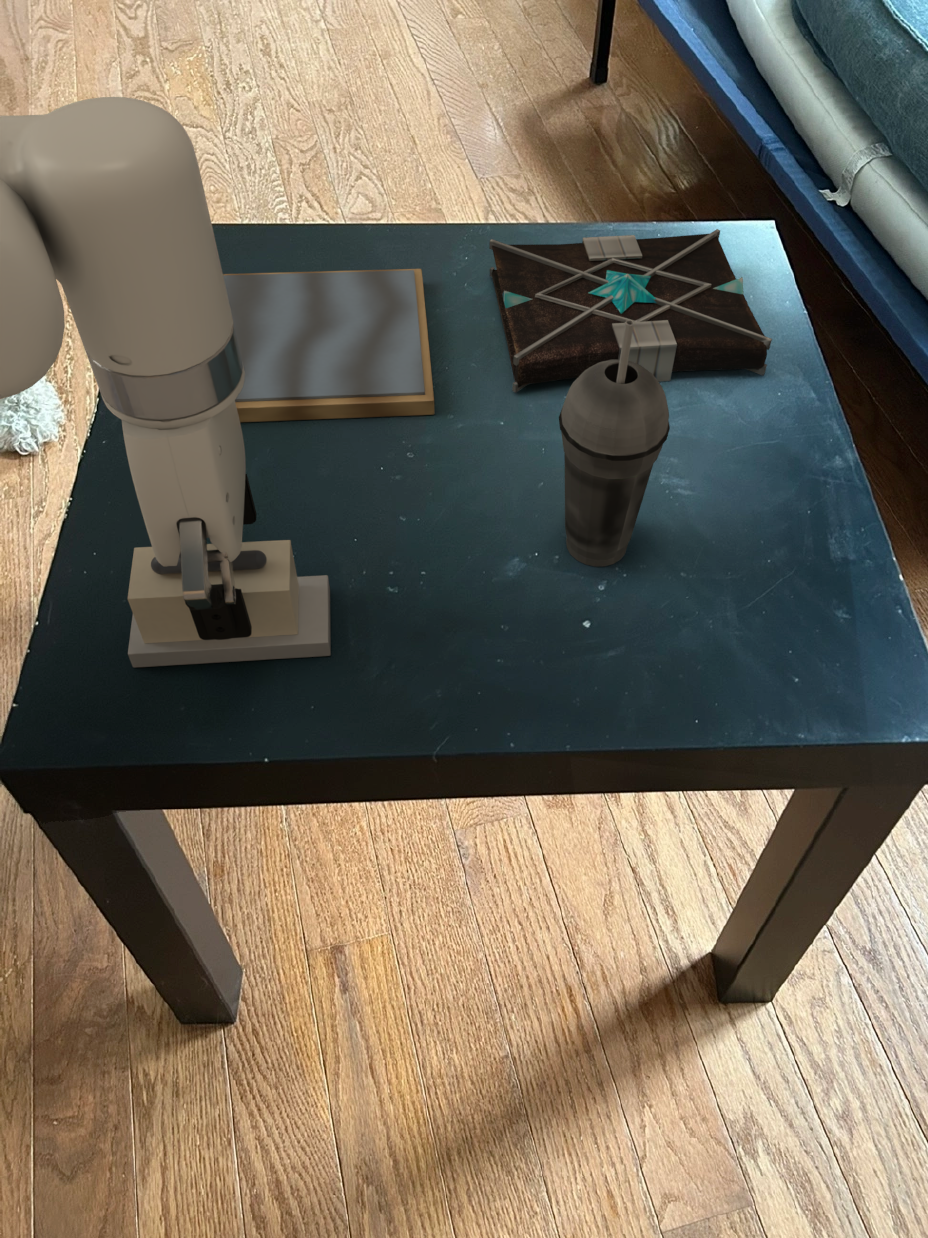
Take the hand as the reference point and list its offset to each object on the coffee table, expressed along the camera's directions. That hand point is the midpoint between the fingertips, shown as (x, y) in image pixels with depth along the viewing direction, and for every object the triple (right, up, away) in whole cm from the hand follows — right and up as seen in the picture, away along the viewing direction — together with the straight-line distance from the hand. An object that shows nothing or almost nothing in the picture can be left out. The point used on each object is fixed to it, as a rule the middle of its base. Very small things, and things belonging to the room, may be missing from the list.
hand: (230, 576), depth 71 cm
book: (+28, +24, +26) cm, 45 cm away
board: (+1, +21, +22) cm, 31 cm away
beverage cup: (+25, +3, +10) cm, 27 cm away
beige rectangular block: (-1, -3, +4) cm, 5 cm away
